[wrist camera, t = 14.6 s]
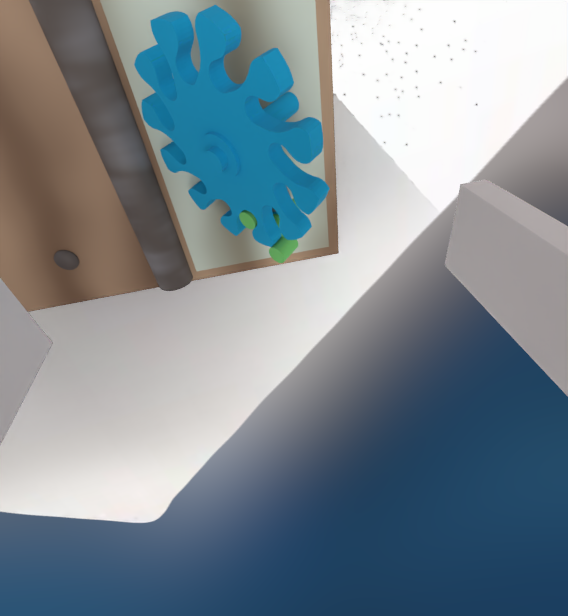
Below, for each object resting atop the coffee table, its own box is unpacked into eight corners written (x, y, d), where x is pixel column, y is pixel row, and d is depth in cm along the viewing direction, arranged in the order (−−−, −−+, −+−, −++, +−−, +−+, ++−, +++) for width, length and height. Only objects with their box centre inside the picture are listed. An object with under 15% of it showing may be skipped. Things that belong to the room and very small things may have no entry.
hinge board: (20, 303, 25) (5, 326, 23) (-203, 27, 15) (-262, 28, 13) (334, 244, 26) (342, 262, 24) (320, -62, 15) (334, -73, 14)
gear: (88, 58, 15) (237, -40, 9) (184, 13, 18) (355, -87, 11) (211, 257, 22) (344, 285, 16) (267, 205, 25) (401, 210, 18)
